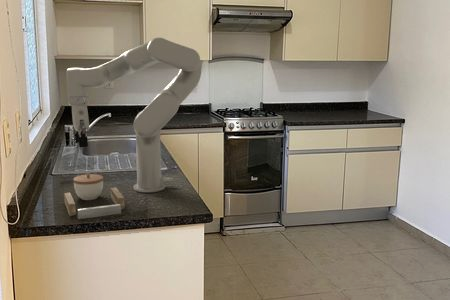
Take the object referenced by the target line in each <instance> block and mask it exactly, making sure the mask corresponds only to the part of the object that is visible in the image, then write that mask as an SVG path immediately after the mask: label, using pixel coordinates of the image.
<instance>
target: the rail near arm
mask: <svg viewBox="0 0 450 300" xmlns="http://www.w3.org/2000/svg"><path fill="white" fill-rule="evenodd" d="M110 199H111V200H112V202H113V204H114V205H115V204H120V205H121V210H125V197H124V196H123V194H122V193H121V192H120V190H119V189H118V188H117V187H110Z"/></svg>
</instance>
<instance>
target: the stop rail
mask: <svg viewBox="0 0 450 300" xmlns="http://www.w3.org/2000/svg"><path fill="white" fill-rule="evenodd" d="M76 210H77V218H78V220H83V219H84V220H85V219H91V218H98V217H99V218H100V217H104V216H106V217H107V216H115V215H121V214H122V209H121V205H120V204H115V203H114V204H109V205H99V206H93V207H85V208H78V209H76Z"/></svg>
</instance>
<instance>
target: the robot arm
mask: <svg viewBox="0 0 450 300" xmlns="http://www.w3.org/2000/svg"><path fill="white" fill-rule="evenodd" d="M158 63H161V64H165V65H167V66H169V67H172V68H176V69H179V71H178V74H176V75H175V77H174V78H172V80H171V81H170V82H169V83H168V84H167V85H166V86H165V87H164V88H163V89H162V90H161V91H159V92H158V93H157V94H156V96H155V97H154V98H153V99H152V100H151V102H150V103H149V104H148V105H147V106H146V107H144V109H143V110H141V111H139V112H138V113H137V115H136V116H135V118H134V121H133V130H134V132H135V150H136V151H135V156H136V158H135V161H136V183H135V184H133V188H132V189H133V190H134V191H135V192H137V193H138V192H139V193H156V192H157V193H158V192H161V191H163V190H165V189H166V183H167V184H168V183H174V178H173V177H168V176H167V177H163V176H162V158H161V156H162V155H161V149H162V148H161V130H162V129H163V127H165V126H166V125H167V124H168V122H169V121H170V120H171V119H172V118H173V117H174V116H175V115H176V114H177V112H178V110H179V107H180V106H181V104H182V103H183V102H184V101H185V100H186V99H188V96H190V94H191V93H192V92H193V91H194V90H195V88H196V87H197V86H198V83H199V82H200V79H201V77H202V63H201V57H200V54H199V52H198V51H197V50H195V49H194V48H191V47H188V46H185V45H182V44H179V43H176V42H173V41H170V40H168V39H165V38H163V37H155V38H153V39H151V40H150V41H147V42H145V43H143V44H141V45H138V46H136V47H133V48H132V49H129V50H127V51H124V53H122V54H121V55H120V56H118V57H116V58H114V59H112V60H110V61H108V62H106V63H103V64H100V65H98V66H95V67H91V68H84V67H70V68H67V69H66V74H65V76H66V88H67V101H68V106H71V115H72V116H71V117H72V125H73V129H74V140H75V141H74V142H75V144H78V147H79V148H88V146H89V142H88V141H89V139H88V135H87V131H89V130H90V121H89V112H88V106H87V105H89V104H90V99H89V88H94V89H95V88H97V89H98V88H99V89H100V88H102V87H103V86H106V85H108V84H111V83H112V82H115V81H117V80H119V79H121V78H124V77H126V76H129V75H133V74H136V73H139V72H140V71H143V70H144V69H147V68H149V67H152V66H153V65H156V64H158Z"/></svg>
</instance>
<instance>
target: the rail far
mask: <svg viewBox="0 0 450 300" xmlns="http://www.w3.org/2000/svg"><path fill="white" fill-rule="evenodd" d="M63 195H64V205H65V208H66V210H67V212H68V215H69V216H71V217H72V216H76V215H77V212H76V210H77V209H76V203H75V201H74V198H73V196H72V194H71V192H64V193H63Z"/></svg>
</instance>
